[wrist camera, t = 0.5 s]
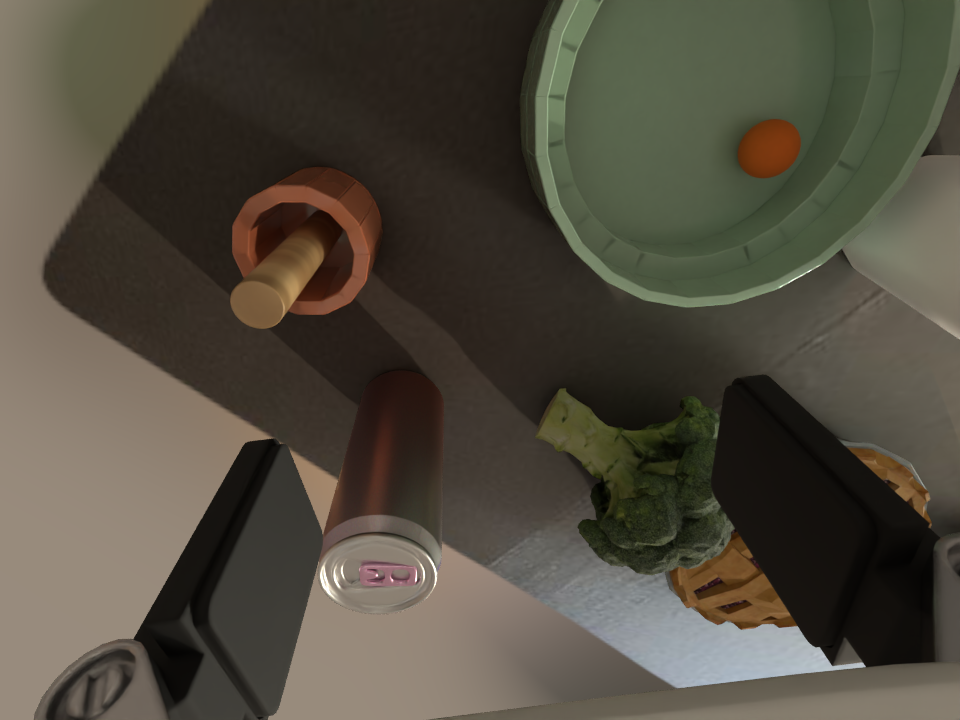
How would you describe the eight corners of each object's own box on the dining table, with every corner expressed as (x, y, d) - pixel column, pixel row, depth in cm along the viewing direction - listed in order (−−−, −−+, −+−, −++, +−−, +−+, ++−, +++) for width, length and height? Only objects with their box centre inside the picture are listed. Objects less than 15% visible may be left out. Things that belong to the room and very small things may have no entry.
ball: (751, 107, 27) (783, 109, 25) (790, 133, 28) (826, 138, 25) (716, 159, 28) (743, 166, 26) (755, 182, 29) (785, 192, 27)
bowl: (652, -230, 21) (719, -333, 16) (941, 15, 26) (1064, -2, 21) (461, 188, 29) (463, 211, 24) (710, 314, 34) (757, 356, 29)
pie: (747, 617, 52) (774, 666, 48) (602, 538, 45) (619, 587, 40) (942, 492, 44) (995, 537, 40) (805, 371, 37) (852, 409, 33)
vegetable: (619, 311, 31) (827, 457, 29) (569, 368, 43) (714, 473, 41) (508, 465, 28) (736, 641, 26) (487, 480, 40) (641, 600, 38)
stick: (314, 203, 29) (236, 272, 18) (347, 218, 29) (290, 293, 19) (304, 234, 29) (224, 317, 19) (336, 248, 30) (276, 336, 19)
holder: (287, 144, 27) (249, 158, 22) (400, 198, 29) (389, 223, 24) (256, 249, 30) (217, 283, 25) (361, 292, 32) (344, 333, 27)
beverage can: (441, 434, 38) (438, 618, 25) (363, 431, 37) (317, 617, 24) (446, 367, 35) (444, 535, 22) (361, 363, 34) (307, 533, 21)
